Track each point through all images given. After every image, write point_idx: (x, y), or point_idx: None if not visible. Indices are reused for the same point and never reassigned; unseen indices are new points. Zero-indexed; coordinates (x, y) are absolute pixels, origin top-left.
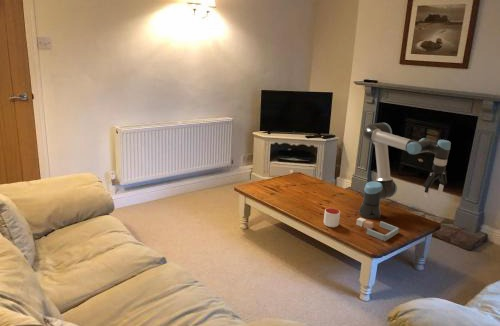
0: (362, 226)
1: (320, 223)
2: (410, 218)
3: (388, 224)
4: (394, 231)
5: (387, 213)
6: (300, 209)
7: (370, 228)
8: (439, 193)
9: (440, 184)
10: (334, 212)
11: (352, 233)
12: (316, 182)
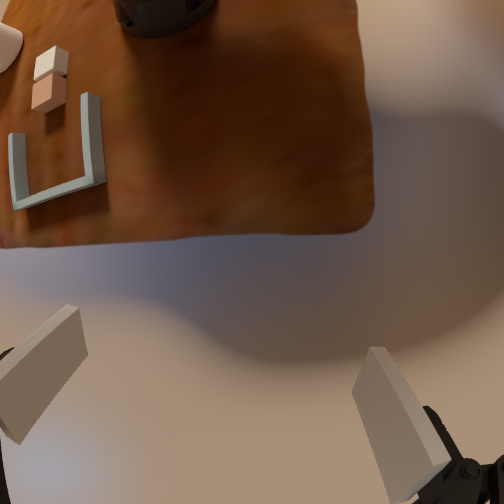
0: None
1: None
2: (312, 108)
3: (84, 131)
4: (61, 193)
5: (254, 19)
6: None
7: (50, 109)
8: (362, 377)
9: (419, 479)
10: (3, 29)
11: (2, 119)
12: None
